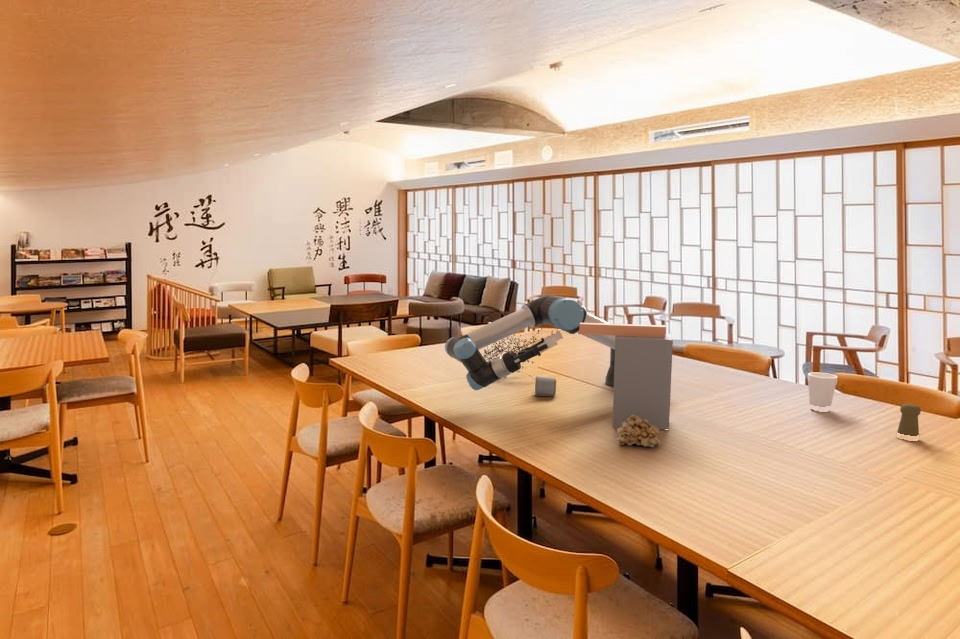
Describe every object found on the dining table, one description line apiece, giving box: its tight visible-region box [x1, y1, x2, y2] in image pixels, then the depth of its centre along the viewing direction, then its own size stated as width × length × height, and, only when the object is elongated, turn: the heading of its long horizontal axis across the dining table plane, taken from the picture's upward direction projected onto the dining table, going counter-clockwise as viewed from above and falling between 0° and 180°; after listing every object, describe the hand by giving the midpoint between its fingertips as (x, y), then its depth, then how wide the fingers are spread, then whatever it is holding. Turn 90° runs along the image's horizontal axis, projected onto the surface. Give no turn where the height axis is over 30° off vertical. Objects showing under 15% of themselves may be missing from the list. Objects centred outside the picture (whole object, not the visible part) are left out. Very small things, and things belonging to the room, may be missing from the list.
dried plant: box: [483, 327, 562, 378], centre depth 271 cm, size 30×31×45 cm
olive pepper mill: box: [896, 403, 922, 436], centre depth 191 cm, size 6×6×11 cm
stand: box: [612, 333, 674, 430], centre depth 205 cm, size 18×12×30 cm, turn 76°
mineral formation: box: [616, 415, 662, 448], centre depth 188 cm, size 8×13×15 cm
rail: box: [578, 322, 667, 338], centre depth 205 cm, size 28×4×4 cm, turn 76°
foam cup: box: [807, 371, 838, 407], centre depth 221 cm, size 10×9×13 cm
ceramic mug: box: [534, 376, 557, 397], centre depth 244 cm, size 11×8×8 cm
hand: (558, 337), depth 213 cm, fingers open, 13 cm apart
